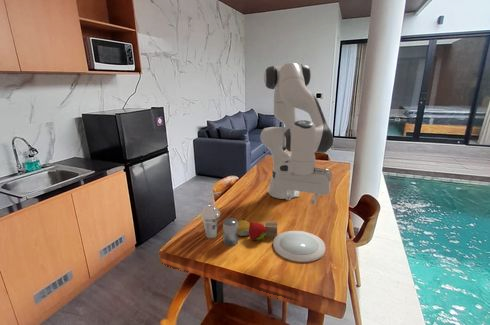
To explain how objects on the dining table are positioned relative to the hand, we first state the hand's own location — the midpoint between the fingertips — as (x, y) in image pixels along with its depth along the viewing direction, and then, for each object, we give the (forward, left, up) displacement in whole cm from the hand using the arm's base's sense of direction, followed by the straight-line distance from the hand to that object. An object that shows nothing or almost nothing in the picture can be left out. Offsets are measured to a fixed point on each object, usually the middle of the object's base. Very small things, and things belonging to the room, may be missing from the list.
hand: (300, 201), depth 98 cm
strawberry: (0, -21, -13) cm, 25 cm away
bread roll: (-2, -28, -19) cm, 34 cm away
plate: (0, 0, -19) cm, 19 cm away
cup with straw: (+7, -36, -19) cm, 41 cm away
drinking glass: (+8, -26, -19) cm, 33 cm away
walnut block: (-4, -13, -19) cm, 23 cm away
